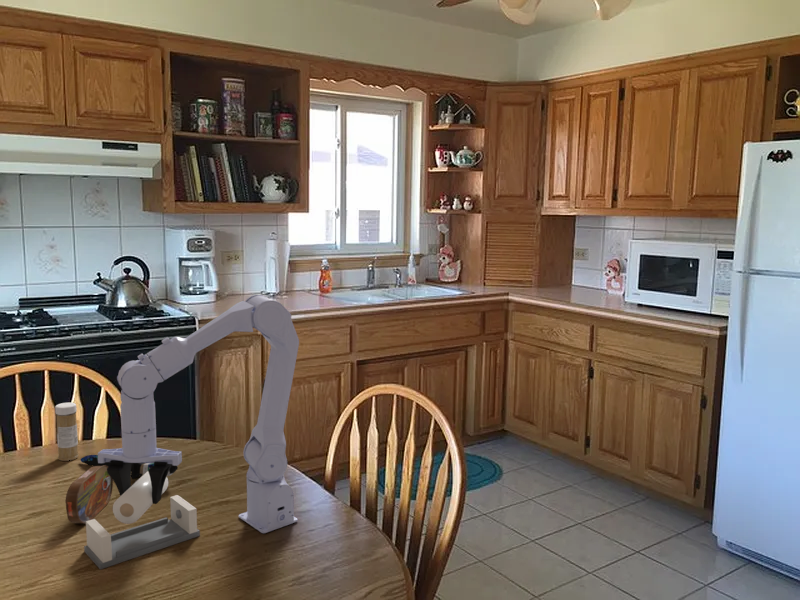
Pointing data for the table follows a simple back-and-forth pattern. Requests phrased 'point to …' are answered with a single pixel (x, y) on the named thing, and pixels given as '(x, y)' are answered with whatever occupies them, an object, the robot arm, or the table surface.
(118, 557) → the holder
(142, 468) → the knife
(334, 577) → the table surface
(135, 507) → the cylinder
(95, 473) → the tin
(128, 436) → the robot arm
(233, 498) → the table surface
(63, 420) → the sprinkles bottle
